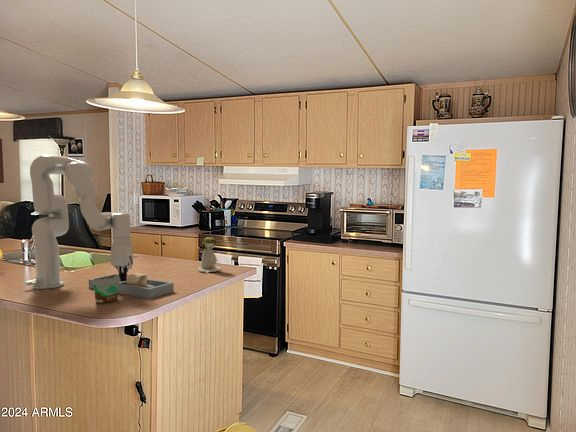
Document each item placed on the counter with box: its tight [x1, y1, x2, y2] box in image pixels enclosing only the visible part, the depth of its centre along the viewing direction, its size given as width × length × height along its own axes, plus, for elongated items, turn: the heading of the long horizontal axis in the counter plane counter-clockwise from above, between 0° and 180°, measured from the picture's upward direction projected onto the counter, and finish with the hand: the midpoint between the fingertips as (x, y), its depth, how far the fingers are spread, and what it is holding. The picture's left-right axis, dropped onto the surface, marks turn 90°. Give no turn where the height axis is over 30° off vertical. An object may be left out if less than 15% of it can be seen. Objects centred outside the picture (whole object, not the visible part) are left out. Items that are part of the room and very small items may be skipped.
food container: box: [92, 273, 120, 305], centre depth 179 cm, size 12×6×10 cm, turn 158°
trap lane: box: [88, 273, 175, 300], centre depth 199 cm, size 14×38×4 cm, turn 61°
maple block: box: [126, 272, 148, 287], centre depth 197 cm, size 6×6×5 cm
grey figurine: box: [198, 236, 222, 274], centre depth 242 cm, size 12×13×18 cm
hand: (123, 280), depth 201 cm, fingers closed
